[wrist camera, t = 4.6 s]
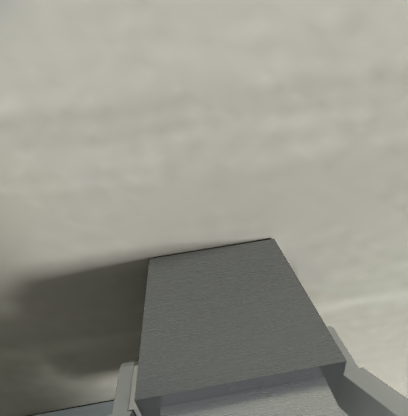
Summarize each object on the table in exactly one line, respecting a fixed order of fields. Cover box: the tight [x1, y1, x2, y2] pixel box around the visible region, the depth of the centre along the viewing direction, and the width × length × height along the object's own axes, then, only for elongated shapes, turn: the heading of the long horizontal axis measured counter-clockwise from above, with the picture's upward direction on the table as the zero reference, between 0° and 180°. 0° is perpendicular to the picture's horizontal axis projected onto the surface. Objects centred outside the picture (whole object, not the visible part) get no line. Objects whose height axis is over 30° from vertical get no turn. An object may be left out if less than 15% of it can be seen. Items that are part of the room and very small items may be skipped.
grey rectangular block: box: [134, 239, 347, 416], centre depth 10 cm, size 5×7×6 cm
